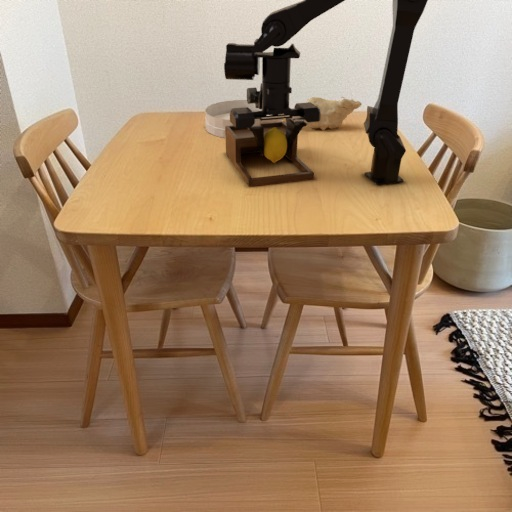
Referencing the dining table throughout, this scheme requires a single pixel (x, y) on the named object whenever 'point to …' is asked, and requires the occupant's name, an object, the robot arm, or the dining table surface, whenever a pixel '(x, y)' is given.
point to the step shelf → (246, 143)
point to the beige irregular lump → (332, 111)
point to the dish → (226, 116)
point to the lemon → (274, 144)
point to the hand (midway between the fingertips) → (274, 153)
